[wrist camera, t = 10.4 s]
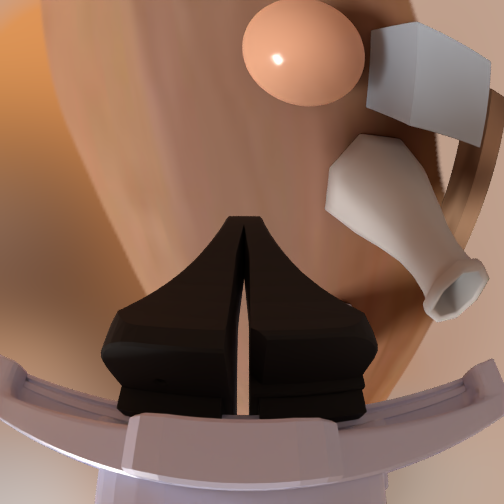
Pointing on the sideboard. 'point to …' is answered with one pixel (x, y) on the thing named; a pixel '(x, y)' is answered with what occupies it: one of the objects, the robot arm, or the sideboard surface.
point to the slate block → (429, 81)
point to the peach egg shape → (303, 52)
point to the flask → (404, 221)
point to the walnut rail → (473, 174)
